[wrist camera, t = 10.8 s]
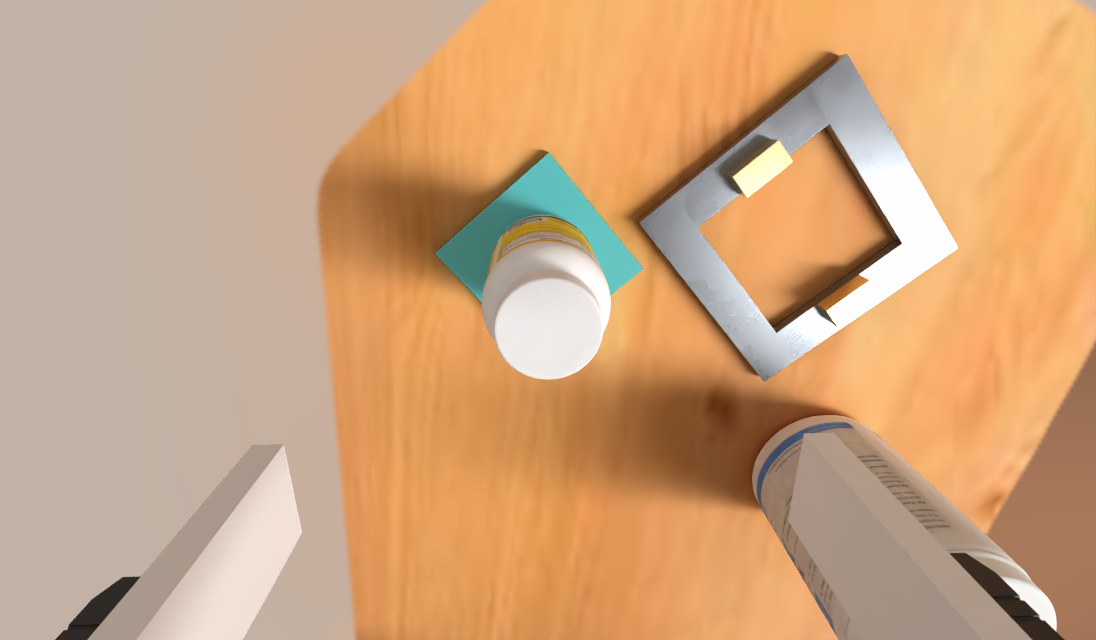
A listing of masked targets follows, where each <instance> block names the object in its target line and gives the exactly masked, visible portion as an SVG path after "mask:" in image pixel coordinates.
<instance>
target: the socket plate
mask: <svg viewBox="0 0 1096 640" xmlns="http://www.w3.org/2000/svg"><path fill="white" fill-rule="evenodd" d="M824 128H826V130H827V132H828V133H829V135H830V136H831V138H832V140H833V141H834V143H835V145H836V146H837V148H838V150H839V151H840V153H841V154H842V156H843V158H844V159H845V161H846V163H847V164H848V166H849V167H850V169H851V171H852V172H853V174H854V176H855V177H856V179H857V180H858V182H859V184H860V185H861V187H862V189H863V190H864V192H865V193H866V195H867V197H868V198H869V200H870V202H871V203H872V205H873V206H874V208H875V210H876V211H877V213H878V215H879V216H880V218H881V219H882V221H883V223H884V224H885V226H886V228H887V229H888V231H889V232H890V234H891V236H892V237H893V239H894V241H893V242H892V243H891V244H889V245H888V246H886V247H885V248H884V249H882V250H881V251H879V252H878V253H877V254H875V255H874V256H872V257H871V258H870V259H868V260H867V261H865V262H864V263H863V264H861V265H860V266H858V267H857V268H855V269H854V270H853V271H851V272H850V273H848V274H847V275H846V276H844V277H843V278H841V279H840V280H839V281H837V282H836V283H834V284H833V285H832V286H830V287H829V288H827V289H826V290H825V291H823V292H822V293H820V294H819V295H818V296H816V297H815V298H813V299H812V300H811V301H809V302H808V303H806V304H805V305H803V306H802V307H801V308H799V309H798V310H796V311H795V312H794V313H792V314H791V315H789V316H788V317H787V318H785V319H784V320H782V321H781V322H780V323H778V324H777V325H775V326H774V327H773V328H772V326H771V325H770V324H769V322H768V321H767V320H766V318H765V317H764V316H763V314H762V313H761V312H760V310H759V309H758V308H757V306H756V305H755V304H754V302H753V301H752V300H751V298H750V297H749V296H748V294H747V293H746V292H745V290H744V289H743V288H742V286H741V285H740V284H739V282H738V281H737V280H736V278H735V277H734V276H733V274H732V273H731V272H730V270H729V269H728V268H727V266H726V265H725V264H724V262H723V261H722V260H721V258H720V257H719V256H718V254H717V253H716V252H715V250H714V249H713V248H712V246H711V245H710V244H709V242H708V241H707V240H706V238H705V237H704V236H703V234H702V233H701V232H700V230H699V229H698V227H699V226H700V225H702V224H703V223H704V222H705V221H707V220H708V219H709V218H711V217H712V216H713V215H714V214H716V213H717V212H718V211H719V210H721V209H722V208H723V207H725V206H726V205H727V204H728V203H730V202H731V201H732V200H733V199H735V198H736V197H737V196H739V195H742V196H745V197H747V198H748V197H749V196H750V195H751V194H753V193H754V192H755V191H757V190H758V189H759V188H760V187H762V186H763V185H764V184H765V183H767V182H768V181H769V180H771V179H772V178H773V177H774V176H776V175H777V174H778V173H780V172H781V171H782V170H783V169H785V168H786V167H787V166H789V165H790V164H791V163H792V162H793V161H792V159H791V158H790V156H789V155H791V154H792V153H793V152H795V151H796V150H797V149H798V148H800V147H801V146H802V145H803V144H805V143H806V142H807V141H809V140H810V139H811V138H812V137H814V136H815V135H816V134H817V133H819V132H820V131H821V130H823V129H824ZM637 222H638V223H639V224H640V225H641V227H642V228H643V229H644V230H645V232H646V233H647V234H648V236H649V237H650V238H651V239H652V241H653V242H654V243H655V244H656V246H657V247H658V248H659V249H660V251H661V252H662V253H663V255H664V256H665V257H666V258H667V260H668V261H669V262H670V263H671V265H672V266H673V267H674V268H675V270H676V271H677V272H678V274H679V275H680V276H681V277H682V279H683V280H684V281H685V282H686V284H687V285H688V286H689V287H690V289H691V290H692V291H693V293H694V294H695V295H696V296H697V298H698V299H699V300H700V301H701V303H702V304H703V305H704V306H705V308H706V309H707V310H708V312H709V313H710V314H711V315H712V317H713V318H714V319H715V320H716V322H717V323H718V324H719V325H720V327H721V328H722V329H723V331H724V332H725V333H726V334H727V336H728V337H729V338H730V339H731V341H732V342H733V343H734V344H735V346H736V347H737V348H738V350H739V351H740V352H741V353H742V355H743V356H744V357H745V358H746V360H747V361H748V362H749V363H750V365H751V366H752V367H753V369H754V370H755V371H756V372H757V374H758V375H759V376H760V377H761V379H762V380H763V381H766V380H767V379H769V378H770V377H772V376H773V375H775V374H776V373H777V372H779V371H780V370H782V369H783V368H785V367H786V366H788V365H789V364H791V363H792V362H793V361H795V360H796V359H798V358H799V357H801V356H802V355H804V354H805V353H807V352H808V351H809V350H811V349H812V348H814V347H815V346H817V345H818V344H820V343H821V342H822V341H824V340H825V339H827V338H828V337H830V336H831V335H833V334H834V333H836V332H837V331H838V330H840V329H841V328H843V327H844V326H846V325H847V324H849V323H850V322H852V321H853V320H854V319H856V318H857V317H859V316H860V315H862V314H863V313H865V312H866V311H867V310H869V309H870V308H872V307H873V306H875V305H876V304H878V303H879V302H881V301H882V300H883V299H885V298H886V297H888V296H889V295H891V294H892V293H894V292H895V291H896V290H898V289H899V288H901V287H902V286H904V285H905V284H907V283H908V282H910V281H911V280H912V279H914V278H915V277H917V276H918V275H920V274H921V273H923V272H924V271H926V270H927V269H928V268H930V267H931V266H933V265H934V264H936V263H937V262H939V261H940V260H941V259H943V258H944V257H946V256H947V255H949V254H950V253H952V252H953V251H955V250H956V249H957V248H958V247H957V245H956V243H955V242H954V240H953V238H952V236H951V235H950V233H949V231H948V229H947V228H946V226H945V224H944V222H943V221H942V219H941V217H940V215H939V214H938V212H937V210H936V208H935V207H934V205H933V203H932V201H931V200H930V198H929V196H928V194H927V193H926V191H925V189H924V187H923V186H922V184H921V182H920V180H919V179H918V177H917V175H916V173H915V172H914V170H913V168H912V166H911V165H910V163H909V161H908V159H907V158H906V156H905V154H904V152H903V151H902V149H901V147H900V145H899V144H898V142H897V140H896V138H895V137H894V135H893V133H892V131H891V130H890V128H889V126H888V124H887V123H886V121H885V119H884V117H883V116H882V114H881V112H880V110H879V109H878V107H877V105H876V103H875V102H874V100H873V98H872V96H871V95H870V93H869V91H868V89H867V88H866V86H865V84H864V82H863V81H862V79H861V77H860V75H859V74H858V72H857V70H856V68H855V67H854V65H853V63H852V61H851V60H850V58H849V56H848V54H845V55H840V56H838V57H837V58H836V59H835V60H833V61H832V62H831V63H830V64H828V65H827V66H826V67H825V68H824V69H822V70H821V71H820V72H819V73H817V74H816V75H815V76H814V77H813V78H811V79H810V80H809V81H808V82H806V83H805V84H804V85H803V86H801V87H800V88H799V89H798V90H797V91H795V92H794V93H793V94H792V95H790V96H789V97H788V98H787V99H785V100H784V101H783V102H782V103H781V104H779V105H778V106H777V107H776V108H774V109H773V110H772V111H771V112H769V113H768V114H767V115H766V116H765V117H763V118H762V119H761V120H760V121H758V122H757V123H756V124H755V125H754V126H752V127H751V128H750V129H749V130H747V131H746V132H745V133H744V134H742V135H741V136H740V137H739V138H738V139H736V140H735V141H734V142H733V143H731V144H730V145H729V146H728V147H726V148H725V149H724V150H723V151H722V152H720V153H719V154H718V155H717V156H715V157H714V158H713V159H712V160H710V161H709V162H708V163H707V164H706V165H704V166H703V167H702V168H701V169H699V170H698V171H697V172H696V173H695V174H693V175H692V176H691V177H690V178H688V179H687V180H686V181H685V182H683V183H682V184H681V185H680V186H679V187H677V188H676V189H675V190H674V191H672V192H671V193H670V194H669V195H667V196H666V197H665V198H664V199H663V200H661V201H660V202H659V203H658V204H656V205H655V206H654V207H653V208H651V209H650V210H649V211H648V212H647V213H645V214H644V215H643V216H642V217H640V218H639V219H638V220H637Z"/></svg>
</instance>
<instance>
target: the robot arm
mask: <svg viewBox="0 0 1096 640" xmlns="http://www.w3.org/2000/svg"><path fill="white" fill-rule="evenodd" d="M788 522H789V523H790V525H791V526H792V528H793V529H794V531H795V533H796V534H797V536H798V537H799V539H800V540H801V542H802V544H803V545H804V547H805V548H806V550H807V551H808V553H809V555H810V556H811V558H812V559H813V561H814V562H815V564H816V565H817V567H818V569H819V570H820V572H821V573H822V575H823V576H824V578H825V580H826V581H827V583H828V584H829V586H830V587H831V589H832V591H833V592H834V594H835V595H836V597H837V598H838V600H839V602H840V603H841V605H842V606H843V608H844V609H845V611H846V613H847V614H848V616H849V617H850V619H851V620H852V622H853V624H854V625H855V627H856V628H857V630H858V631H859V633H860V634H861V636H862V638H863V639H864V640H1064V639H1063V638H1062V637H1061V636H1060V635H1059V634H1058V633H1057V632H1056V631H1055V630H1054V629H1053V628H1052V627H1051V626H1050V625H1049V624H1048V623H1047V622H1046V621H1045V620H1041V619H1040V617H1039V614H1038V613H1037V612H1036V611H1035V610H1034V609H1033V608H1032V607H1030V606H1029V605H1028V604H1027V603H1026V602H1025V601H1024V600H1021V599H1020V597H1019V595H1018V594H1017V593H1016V592H1015V591H1014V590H1013V589H1012V588H1011V587H1010V586H1009V585H1008V584H1007V583H1006V582H1005V581H1004V580H1003V579H1002V578H1001V577H1000V576H999V575H998V574H997V573H996V572H994V571H993V570H991V569H990V568H988V567H987V566H985V565H983V564H982V563H980V562H979V561H977V560H976V559H974V558H973V557H971V556H970V555H968V554H967V553H948V551H947V550H946V549H945V548H944V547H943V546H942V545H941V544H940V543H939V542H938V541H937V540H936V539H935V538H934V537H933V536H932V535H931V534H930V533H929V532H928V531H927V530H926V529H925V528H924V526H923V525H922V524H921V523H920V522H919V521H918V520H917V519H916V518H915V517H914V516H913V515H912V514H911V513H910V512H909V511H908V510H907V509H906V508H905V507H904V506H903V505H902V504H901V503H900V501H899V500H898V499H897V498H896V497H895V496H894V495H893V494H892V493H891V492H890V491H889V490H888V489H887V488H886V487H885V486H884V485H883V484H882V483H881V482H880V481H879V480H878V479H877V478H876V476H875V475H874V474H873V473H872V472H871V471H870V470H869V469H868V468H867V467H866V466H865V465H864V464H863V463H862V462H861V461H860V460H859V459H858V458H857V457H856V456H855V455H854V454H853V453H852V451H851V450H850V449H849V448H848V447H847V446H846V445H845V444H844V443H843V442H842V441H841V440H840V439H839V438H838V437H837V436H836V435H835V434H834V433H804V436H803V441H802V447H801V452H800V457H799V463H798V468H797V474H796V479H795V484H794V490H793V495H792V501H791V506H790V511H789V517H788ZM301 534H302V531H301V525H300V521H299V516H298V511H297V506H296V501H295V496H294V491H293V487H292V482H291V477H290V472H289V467H288V462H287V457H286V453H285V447H284V444H277V445H252V446H251V448H250V449H249V450H248V451H247V452H246V454H245V455H244V456H243V457H242V458H241V459H240V461H239V462H238V463H237V464H236V465H235V467H234V468H233V469H232V470H231V471H230V472H229V474H228V475H227V476H226V477H225V478H224V479H223V481H222V482H221V483H220V484H219V485H218V486H217V488H216V489H215V490H214V491H213V492H212V494H211V495H210V496H209V497H208V498H207V499H206V501H205V502H204V503H203V504H202V505H201V507H200V508H199V509H198V510H197V511H196V512H195V514H194V515H193V516H192V517H191V518H190V519H189V521H188V522H187V523H186V524H185V525H184V526H183V528H182V529H181V530H180V531H179V532H178V534H177V535H176V536H175V537H174V538H173V539H172V541H171V542H170V543H169V544H168V545H167V547H166V548H165V549H164V550H163V551H162V552H161V554H160V555H159V556H158V557H157V558H156V559H155V561H154V562H153V563H152V564H151V565H150V567H149V568H148V569H147V570H146V571H145V572H144V574H143V575H142V576H141V577H123V578H121V579H120V580H118V581H117V582H115V583H114V584H113V585H111V586H110V587H109V588H107V589H106V590H104V591H103V592H102V593H100V594H99V595H97V596H96V597H95V598H93V599H92V600H91V601H90V602H89V603H88V604H87V606H86V607H85V608H84V609H83V610H82V611H81V612H80V613H79V614H78V615H77V616H76V618H75V619H74V620H73V621H72V622H71V623H70V624H69V627H68V630H64V631H63V632H62V633H61V634H60V635H59V636H58V637H57V638H56V640H243V639H244V637H245V635H246V633H247V632H248V630H249V628H250V626H251V624H252V623H253V621H254V619H255V617H256V615H257V613H258V612H259V610H260V608H261V606H262V604H263V603H264V601H265V599H266V597H267V595H268V594H269V592H270V590H271V588H272V586H273V585H274V583H275V581H276V579H277V577H278V575H279V574H280V572H281V570H282V568H283V566H284V565H285V563H286V561H287V559H288V557H289V555H290V554H291V552H292V550H293V548H294V546H295V545H296V543H297V541H298V539H299V537H300V536H301Z"/></svg>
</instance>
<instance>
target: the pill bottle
mask: <svg viewBox="0 0 1096 640" xmlns="http://www.w3.org/2000/svg"><path fill="white" fill-rule="evenodd" d="M610 309H611V297H610V291H609V286H608V283H607V280H606V278H605V276H604V273H603V271H602V269H601V267H600V265H599V263H598V260H597V258H596V256H595V254H594V252H593V250H592V247H591V246H590V244H589V242H588V240H587V238H586V237H585V236H584V235H583V233H582V232H581V231H580V230H579V229H578V228H577V227H576V226H575V225H573V224H572V223H570V222H569V221H567V220H565V219H563V218H560V217H557V216H553V215H544V214H541V215H533V216H528V217H526V218H523V219H521V220H519V221H517V222H515V223H514V224H512V225H511V226H510V227H509V228H508V229H506V230H505V232H504V233H503V234H502V235H501V237H500V238H499V240H498V242H497V244H496V246H495V248H494V251H493V254H492V258H491V261H490V266H489V270H488V274H487V277H486V281H485V285H484V289H483V295H482V312H483V317H484V321H485V324H486V327H487V329H488V331H489V333H490V335H491V336H492V338H493V339H494V340H495V342H496V345H497V347H498V350H499V352H500V354H501V355H502V357H503V358H504V359H505V360H506V362H507V363H508V364H509V365H510V366H512V367H513V368H514V369H515V370H517V371H519V372H520V373H522V374H524V375H527V376H529V377H533V378H537V379H558V378H563V377H566V376H569V375H571V374H573V373H575V372H577V371H579V370H580V369H582V368H583V367H584V366H585V365H587V364H588V363H589V362H590V361H591V359H592V358H593V357H594V355H595V354H596V352H597V350H598V348H599V346H600V344H601V341H602V336H603V332H604V330H605V329H606V326H607V323H608V320H609V316H610Z"/></svg>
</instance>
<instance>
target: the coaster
mask: <svg viewBox="0 0 1096 640" xmlns="http://www.w3.org/2000/svg"><path fill="white" fill-rule="evenodd" d="M541 214H544V215H553V216H557V217H560V218H563V219H565V220H567V221H569V222H570V223H572V224H573V225H575V226H576V227H577V228H578V229H579V230H580V231H581V232H582V233H583V235H584V236H585V237H586V238H587V240H588V242H589V244H590V246H591V247H592V250H593V252H594V254H595V256H596V258H597V260H598V263H599V265H600V267H601V269H602V271H603V273H604V276H605V278H606V280H607V283H608V286H609V291H610V295H611V294H612V293H613V292H615V291H616V290H617V289H619V288H620V287H621V286H622V285H624V284H625V283H626V282H627V281H629V280H630V279H631V278H633V277H634V276H635V275H636V274H638V273H639V272H640V271H641V270H643V268H642V266H641V265H640V264H639V263H638V261H637V260H636V259H635V258H634V257H633V255H632V254H631V253H630V252H629V250H628V249H627V248H626V247H625V245H624V244H623V243H622V242H621V241H620V239H619V238H618V237H617V236H616V234H615V233H614V232H613V231H612V229H611V228H610V227H609V226H608V225H607V223H606V222H605V221H604V220H603V218H602V217H601V216H600V215H599V213H598V212H597V211H596V210H595V209H594V207H593V206H592V205H591V204H590V202H589V201H588V200H587V199H586V197H585V196H584V195H583V194H582V193H581V191H580V190H579V189H578V188H577V186H576V185H575V184H574V183H573V181H572V180H571V179H570V178H569V177H568V175H567V174H566V173H565V172H564V170H563V169H562V168H561V167H560V165H559V164H558V163H557V162H556V161H555V159H554V158H553V157H552V156H551V154H550V153H549V152H548V153H547V154H546V155H545V156H544V157H542V158H541V159H540V160H539V161H538V162H537V163H536V164H535V165H533V166H532V167H531V168H530V169H529V170H528V171H527V172H526V173H524V174H523V175H522V176H521V177H520V178H519V179H518V180H517V181H515V182H514V183H513V184H512V185H511V186H510V187H509V188H508V189H506V190H505V191H504V192H503V193H502V194H501V195H500V196H499V197H497V198H496V199H495V200H494V201H493V202H492V203H491V204H490V205H488V206H487V207H486V208H485V209H484V210H483V211H482V212H480V213H479V214H478V215H477V216H476V217H475V218H474V219H473V220H471V221H470V222H469V223H468V224H467V225H466V226H465V227H464V228H462V229H461V230H460V231H459V232H458V233H457V234H456V235H455V236H453V237H452V238H451V239H450V240H449V241H448V242H447V243H446V244H444V245H443V246H442V247H441V248H440V249H439V250H438V251H437V252H436V253H435V254H436V255H437V256H438V257H439V258H440V259H441V260H442V262H443V263H444V264H445V265H446V266H447V267H448V268H449V269H450V270H451V271H452V272H453V273H454V274H455V275H456V276H457V277H458V278H459V279H460V280H461V281H462V282H463V284H464V285H465V286H466V287H467V288H468V289H469V290H470V291H471V292H472V293H473V294H474V295H475V296H476V297H477V298H478V299H479V300H480V301H481V302H482V295H483V289H484V285H485V281H486V277H487V274H488V270H489V266H490V261H491V258H492V254H493V251H494V248H495V246H496V244H497V242H498V240H499V238H500V237H501V235H502V234H503V233H504V232H505V230H506V229H508V228H509V227H510V226H511V225H512V224H514V223H515V222H517V221H519V220H521V219H523V218H526V217H528V216H533V215H541Z"/></svg>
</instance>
